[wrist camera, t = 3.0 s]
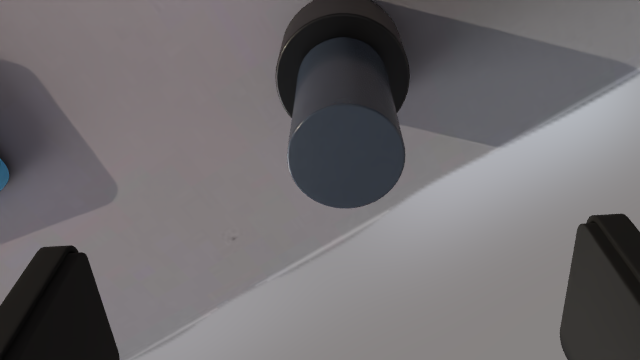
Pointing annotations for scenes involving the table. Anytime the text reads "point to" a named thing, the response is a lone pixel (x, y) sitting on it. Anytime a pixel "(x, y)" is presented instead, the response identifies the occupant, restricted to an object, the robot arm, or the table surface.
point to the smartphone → (3, 175)
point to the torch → (343, 101)
